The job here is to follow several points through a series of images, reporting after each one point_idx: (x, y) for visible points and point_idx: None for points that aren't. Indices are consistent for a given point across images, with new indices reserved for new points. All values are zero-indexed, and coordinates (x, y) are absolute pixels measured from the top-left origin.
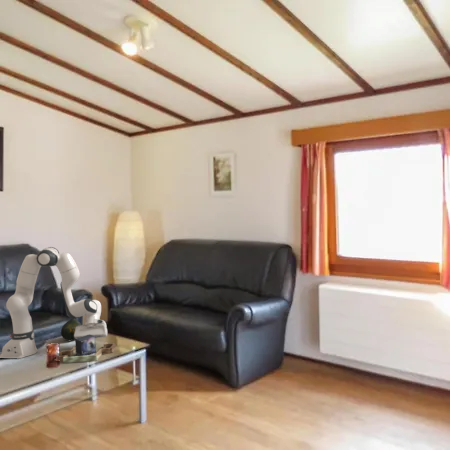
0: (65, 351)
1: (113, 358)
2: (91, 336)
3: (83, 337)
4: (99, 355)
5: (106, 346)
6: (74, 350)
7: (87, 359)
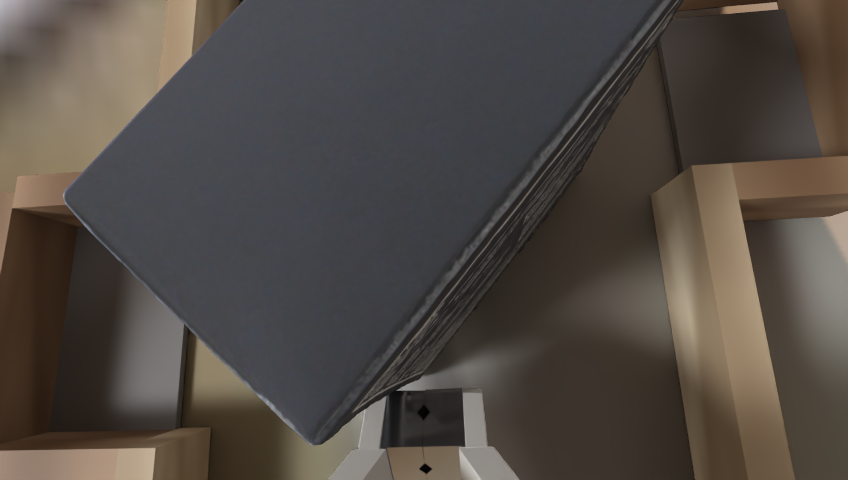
0: (823, 159)
1: (31, 19)
2: (175, 140)
3: (441, 20)
4: None
5: (138, 438)
6: (692, 294)
7: None
